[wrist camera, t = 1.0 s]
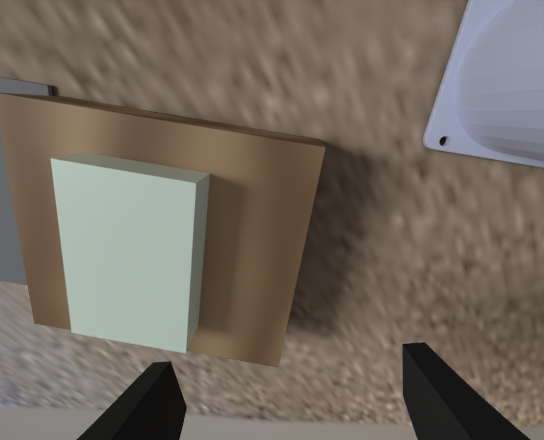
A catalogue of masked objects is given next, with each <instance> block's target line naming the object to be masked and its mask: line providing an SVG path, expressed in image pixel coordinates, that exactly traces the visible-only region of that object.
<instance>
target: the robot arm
mask: <svg viewBox="0 0 544 440" xmlns="http://www.w3.org/2000/svg"><path fill="white" fill-rule="evenodd" d="M443 136H445V137H446V142H445V144H443V145H440V143H439V141H440V139H441V138H442V137H443ZM423 144H424V146H425V147H427V148H429V149H434V150H440V151H446V152H452V153H458V154H464V155H470V156H476V157H482V158H488V159H495V160H501V161H507V162H513V163H519V164H525V165H531V166H537V167H543V168H544V0H469V1H468V4H467V7H466V10H465V13H464V16H463V19H462V22H461V25H460V28H459V31H458V34H457V37H456V40H455V43H454V46H453V49H452V52H451V55H450V58H449V61H448V64H447V67H446V70H445V73H444V76H443V79H442V82H441V85H440V88H439V91H438V94H437V97H436V100H435V103H434V106H433V109H432V112H431V115H430V118H429V121H428V125H427V128H426V131H425V134H424V137H423ZM403 397H404V400H405V403H406V406H407V409H408V412H409V415H410V419H411V421H412V424H413V427H414V430H415V433H416V436H417V438H418V440H530V439H529V438H528V437H527V436H525V435H524V434H523V433H522V432H521V431H520V430H518V429H517V428H516V427H515V426H514V425H513V424H512V423H510V422H509V421H508V420H507V419H506V418H505V417H503V416H502V415H501V414H500V413H499V412H498V411H497V410H496V409H495V408H493V407H492V406H491V405H490V404H489V403H488V402H487V401H486V400H485V399H483V398H482V397H481V396H480V395H479V394H478V393H477V392H476V391H475V390H474V389H473V388H471V387H470V386H469V385H468V384H467V383H466V382H465V381H464V380H463V379H462V378H461V377H460V376H459V375H458V374H457V373H456V372H455V371H454V370H453V369H452V368H450V367H449V366H448V365H447V364H446V363H445V362H444V361H443V360H442V359H441V358H440V357H439V356H438V355H437V354H436V353H435V352H434V351H433V350H432V349H431V348H430V347H429V346H428V345H427V344H426V343H424V342H423V343H410V344H403ZM186 409H187V407H186V404H185V401H184V398H183V395H182V392H181V389H180V387H179V384H178V381H177V378H176V375H175V372H174V369H173V366H172V363H171V361H169V362H155V363H152V364H151V365H150V366H149V367H148V368H147V369H146V370H145V371H144V372H143V373H142V374H141V375H140V376H139V377H138V378H137V379H136V380H135V381H134V382H133V383H132V384H131V385H130V386H129V387H128V388H127V389H126V390H125V392H124V393H123V394H122V395H121V396H120V397H119V398H118V399H117V400H116V401H115V402H114V403H113V404H112V405H111V406H110V407H109V408H108V409H107V410H106V411H105V412H104V413H103V414H102V415H101V416H100V417H99V418H98V419H97V420H96V421H95V422H94V423H93V424H92V425H91V426H90V427H89V428H88V429H87V430H86V431H85V432H84V433H83V434H82V435H81V436H80V437H79V438H78V439H77V440H179V438H180V435H181V431H182V427H183V422H184V417H185V413H186Z"/></svg>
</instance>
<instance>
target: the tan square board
mask: <svg viewBox="0 0 544 440" xmlns="http://www.w3.org/2000/svg"><path fill="white" fill-rule="evenodd" d="M0 132H1V138H2V143H3V149H4V155H5V160H6V166H7V172H8V177H9V183H10V188H11V194H12V200H13V205H14V211H15V217H16V222H17V228H18V233H19V239H20V245H21V250H22V256H23V262H24V267H25V273H26V278H27V284H28V290H29V295H30V301H31V307H32V312H33V318H34V323H35V324H41V325H46V326H52V327H57V328H63V329H68V330H71V323H70V314H69V306H68V298H67V290H66V281H65V273H64V265H63V257H62V249H61V240H60V232H59V224H58V216H57V207H56V199H55V191H54V183H53V175H52V166H51V158H55V157H61V156H66V155H71V154H76V153H82V152H87V153H93V154H99V155H105V156H111V157H117V158H123V159H129V160H134V161H140V162H146V163H152V164H158V165H164V166H170V167H176V168H182V169H188V170H193V171H199V172H205V173H210V179H209V192H208V205H207V218H206V231H205V244H204V257H203V270H202V283H201V296H200V309H199V322H198V328H197V330H196V332H195V334H194V337H193V339H192V341H191V343H190V345H189V348H188V350H187V351H190V352H196V353H201V354H207V355H212V356H218V357H223V358H229V359H234V360H240V361H246V362H251V363H257V364H262V365H268V366H273V367H278V366H279V361H280V357H281V352H282V348H283V343H284V338H285V334H286V329H287V324H288V320H289V315H290V310H291V306H292V301H293V297H294V292H295V287H296V283H297V278H298V273H299V269H300V264H301V259H302V255H303V250H304V246H305V241H306V236H307V232H308V227H309V222H310V218H311V213H312V208H313V204H314V199H315V194H316V190H317V185H318V181H319V176H320V171H321V167H322V162H323V157H324V153H325V148H326V147H325V146H324V145H323V144H322V143H321V141H320V140H319V139H314V138H308V137H302V136H296V135H290V134H284V133H278V132H272V131H266V130H260V129H254V128H248V127H241V126H235V125H229V124H223V123H217V122H211V121H205V120H199V119H193V118H187V117H181V116H175V115H169V114H163V113H157V112H151V111H145V110H139V109H133V108H127V107H121V106H115V105H109V104H103V103H97V102H91V101H85V100H79V99H73V98H67V97H61V96H45V95H30V94H14V93H0Z"/></svg>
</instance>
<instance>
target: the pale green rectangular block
mask: <svg viewBox="0 0 544 440" xmlns="http://www.w3.org/2000/svg"><path fill="white" fill-rule="evenodd" d="M51 166H52V175H53V183H54V191H55V199H56V207H57V216H58V224H59V232H60V240H61V249H62V257H63V265H64V273H65V281H66V290H67V298H68V306H69V314H70V323H71V331H72V333H76V334H82V335H87V336H93V337H98V338H104V339H109V340H115V341H120V342H126V343H131V344H137V345H143V346H148V347H154V348H159V349H165V350H170V351H176V352H181V353H186V352H187V350H188V348H189V345H190V343H191V341H192V339H193V337H194V334H195V332H196V330H197V328H198V322H199V309H200V296H201V283H202V270H203V257H204V244H205V231H206V218H207V205H208V192H209V179H210V173H205V172H199V171H193V170H188V169H182V168H176V167H170V166H164V165H158V164H152V163H146V162H140V161H134V160H129V159H123V158H117V157H111V156H105V155H99V154H93V153H87V152H82V153H76V154H71V155H66V156H61V157H55V158H51Z"/></svg>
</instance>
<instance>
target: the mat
mask: <svg viewBox="0 0 544 440" xmlns="http://www.w3.org/2000/svg"><path fill="white" fill-rule="evenodd" d="M0 93H14V94H30V95H45V96H53V93H52V86H51V85H45V84H38V83H32V82H26V81H20V80H14V79H8V78H2V77H0ZM0 281H6V282H12V283H17V284H23V285H28V284H27V278H26V273H25V267H24V262H23V256H22V250H21V245H20V239H19V233H18V228H17V222H16V217H15V211H14V205H13V200H12V194H11V188H10V183H9V177H8V172H7V166H6V160H5V155H4V149H3V143H2V138H1V132H0Z"/></svg>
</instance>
